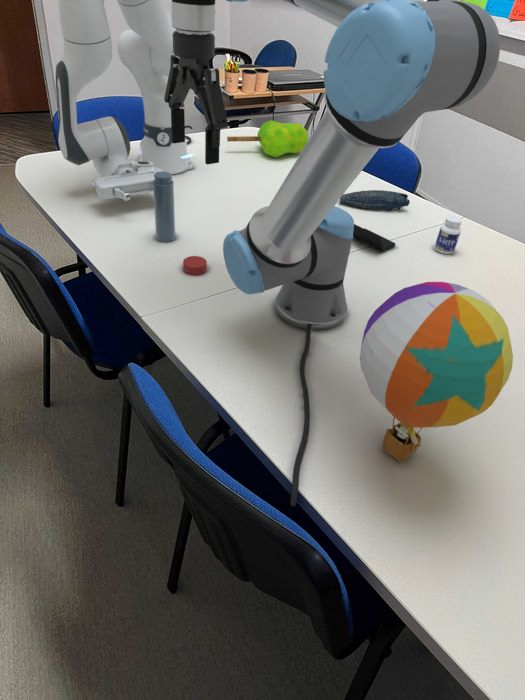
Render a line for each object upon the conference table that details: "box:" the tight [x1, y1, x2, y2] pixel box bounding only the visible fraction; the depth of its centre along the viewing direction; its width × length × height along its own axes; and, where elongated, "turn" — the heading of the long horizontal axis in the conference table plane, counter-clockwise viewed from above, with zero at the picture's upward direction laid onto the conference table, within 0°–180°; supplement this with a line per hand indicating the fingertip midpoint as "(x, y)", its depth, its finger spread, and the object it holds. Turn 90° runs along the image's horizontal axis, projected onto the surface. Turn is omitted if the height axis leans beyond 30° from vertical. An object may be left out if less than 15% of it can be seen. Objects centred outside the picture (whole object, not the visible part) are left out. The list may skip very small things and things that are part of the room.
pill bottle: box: [434, 215, 463, 255], centre depth 137 cm, size 5×5×9 cm
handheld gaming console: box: [353, 223, 396, 253], centre depth 138 cm, size 12×7×10 cm
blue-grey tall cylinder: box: [152, 172, 176, 243], centre depth 129 cm, size 5×5×16 cm
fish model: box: [339, 189, 411, 211], centre depth 158 cm, size 7×21×5 cm, turn 84°
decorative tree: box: [226, 119, 309, 158], centre depth 188 cm, size 18×10×30 cm
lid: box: [182, 255, 208, 276], centre depth 122 cm, size 6×6×2 cm
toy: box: [359, 281, 514, 463], centre depth 73 cm, size 20×20×30 cm
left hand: (144, 194), depth 138 cm, fingers open, 8 cm apart
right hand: (194, 152), depth 106 cm, fingers open, 13 cm apart
